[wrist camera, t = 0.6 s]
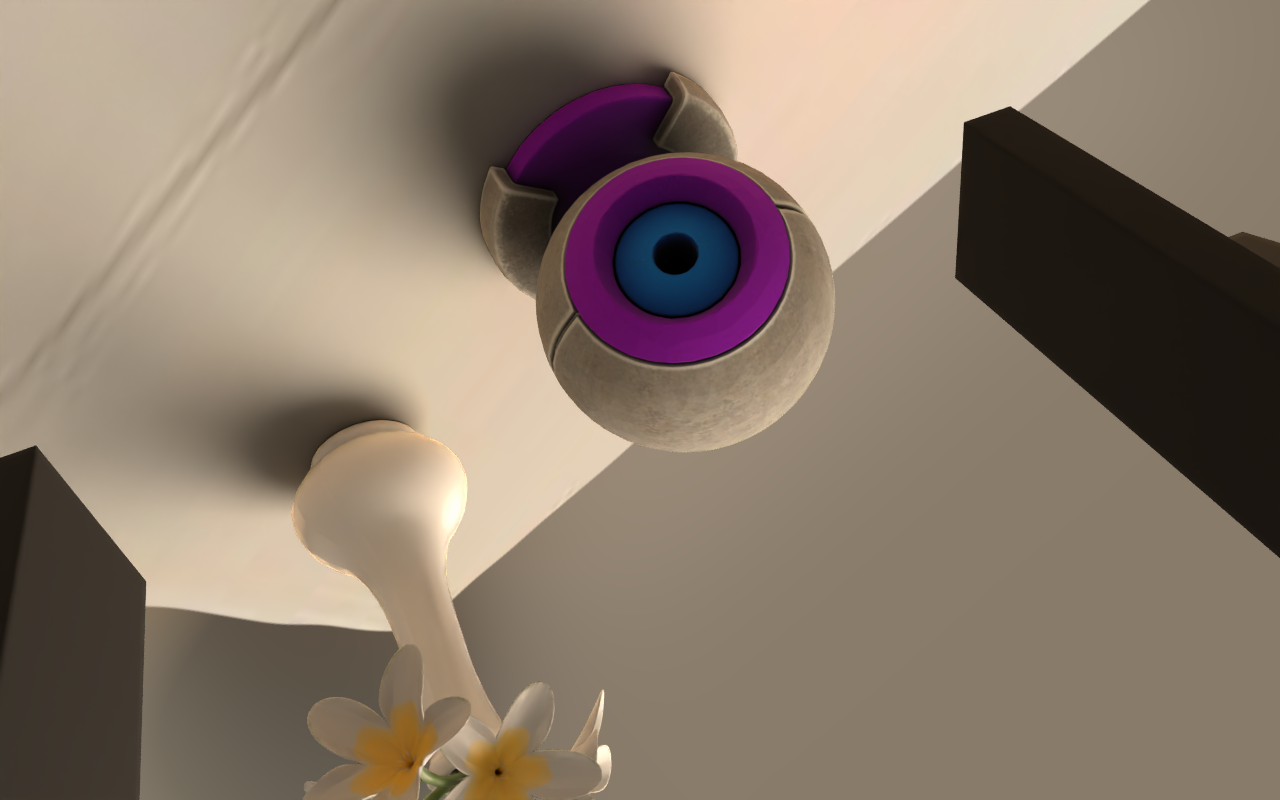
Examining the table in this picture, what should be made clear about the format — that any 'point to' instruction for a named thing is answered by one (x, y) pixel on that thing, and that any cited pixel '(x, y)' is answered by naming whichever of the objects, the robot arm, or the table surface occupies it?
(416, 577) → the flower vase
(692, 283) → the webcam
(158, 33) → the table surface
